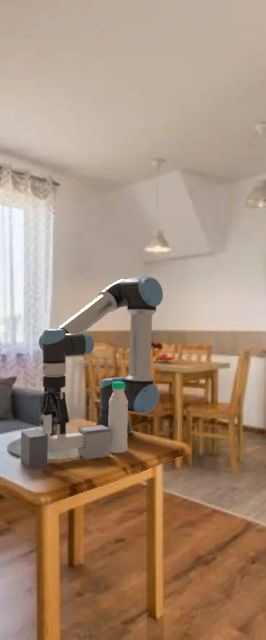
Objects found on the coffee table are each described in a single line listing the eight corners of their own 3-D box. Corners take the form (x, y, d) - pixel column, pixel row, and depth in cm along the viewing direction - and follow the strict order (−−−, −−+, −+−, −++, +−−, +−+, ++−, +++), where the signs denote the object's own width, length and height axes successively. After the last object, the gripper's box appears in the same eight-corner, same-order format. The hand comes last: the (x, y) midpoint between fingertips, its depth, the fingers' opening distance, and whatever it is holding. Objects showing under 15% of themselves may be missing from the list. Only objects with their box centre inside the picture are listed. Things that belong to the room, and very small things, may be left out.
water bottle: (124, 454, 164) (126, 383, 164) (105, 453, 165) (106, 382, 165) (129, 449, 171) (130, 381, 171) (110, 447, 172) (111, 380, 172)
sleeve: (101, 450, 168) (101, 424, 168) (109, 456, 162) (110, 428, 162) (77, 454, 163) (78, 427, 163) (85, 459, 157) (86, 431, 157)
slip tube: (86, 443, 163) (86, 431, 163) (91, 446, 160) (91, 434, 160) (33, 449, 154) (33, 437, 154) (37, 453, 150) (37, 440, 150)
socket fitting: (38, 458, 157) (38, 429, 157) (47, 466, 149) (47, 435, 149) (20, 461, 154) (21, 431, 154) (28, 469, 146) (29, 437, 146)
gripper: (31, 371, 164) (32, 431, 164) (56, 381, 142) (56, 449, 143) (52, 370, 168) (52, 428, 168) (79, 379, 146) (79, 446, 146)
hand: (54, 438), depth 155 cm, fingers open, 13 cm apart
